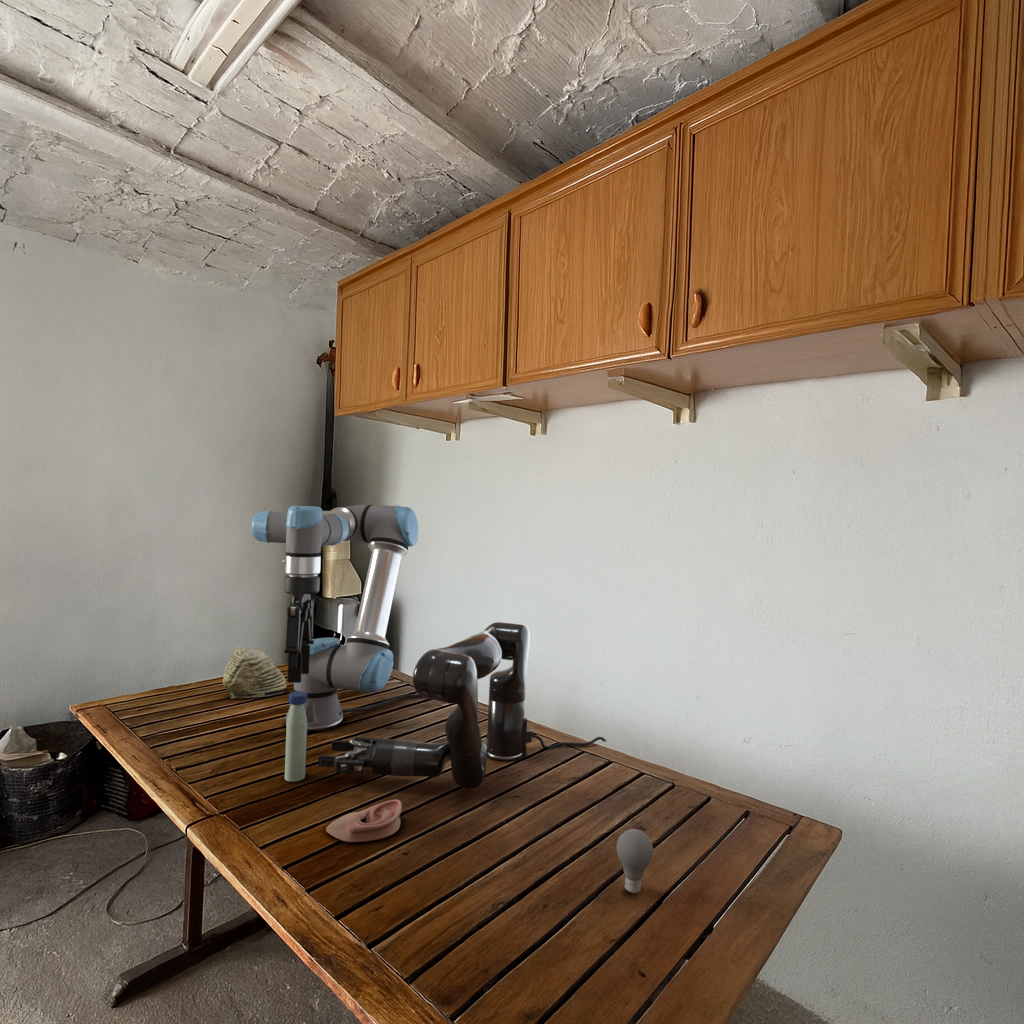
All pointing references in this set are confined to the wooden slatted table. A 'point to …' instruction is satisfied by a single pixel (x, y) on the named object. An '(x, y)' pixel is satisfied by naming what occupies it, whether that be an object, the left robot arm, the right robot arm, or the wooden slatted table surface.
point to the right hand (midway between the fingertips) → (325, 752)
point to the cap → (297, 698)
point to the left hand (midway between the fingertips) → (298, 677)
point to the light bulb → (634, 857)
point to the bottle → (296, 744)
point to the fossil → (252, 674)
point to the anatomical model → (368, 823)
